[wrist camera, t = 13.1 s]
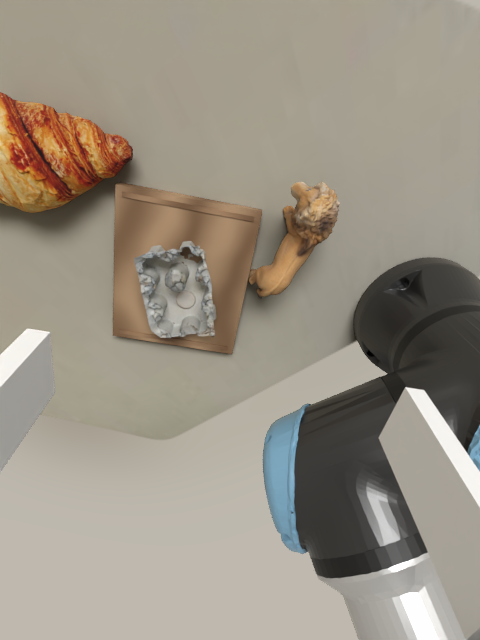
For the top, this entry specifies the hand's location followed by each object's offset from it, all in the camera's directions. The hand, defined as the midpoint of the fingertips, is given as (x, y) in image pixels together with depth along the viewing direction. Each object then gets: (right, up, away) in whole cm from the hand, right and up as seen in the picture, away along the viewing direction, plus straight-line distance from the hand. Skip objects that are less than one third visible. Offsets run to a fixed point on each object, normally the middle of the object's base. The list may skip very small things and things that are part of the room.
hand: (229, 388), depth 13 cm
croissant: (-20, +19, +23) cm, 36 cm away
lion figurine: (+5, +12, +26) cm, 30 cm away
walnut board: (-6, +8, +28) cm, 30 cm away
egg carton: (-6, +7, +28) cm, 29 cm away
